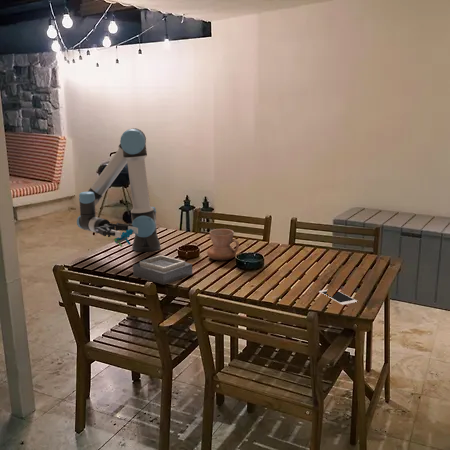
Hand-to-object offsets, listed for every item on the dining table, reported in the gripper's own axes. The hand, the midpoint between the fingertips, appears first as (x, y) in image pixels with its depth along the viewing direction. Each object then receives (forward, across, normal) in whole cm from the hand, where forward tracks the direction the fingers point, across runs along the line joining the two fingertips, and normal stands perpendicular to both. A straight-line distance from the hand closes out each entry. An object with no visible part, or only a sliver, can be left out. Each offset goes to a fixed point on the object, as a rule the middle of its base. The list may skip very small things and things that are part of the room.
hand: (129, 232), depth 232 cm
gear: (-4, +1, -6) cm, 7 cm away
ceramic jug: (+22, -41, -18) cm, 50 cm away
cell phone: (+92, -31, -18) cm, 99 cm away
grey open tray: (+18, -4, -18) cm, 26 cm away
